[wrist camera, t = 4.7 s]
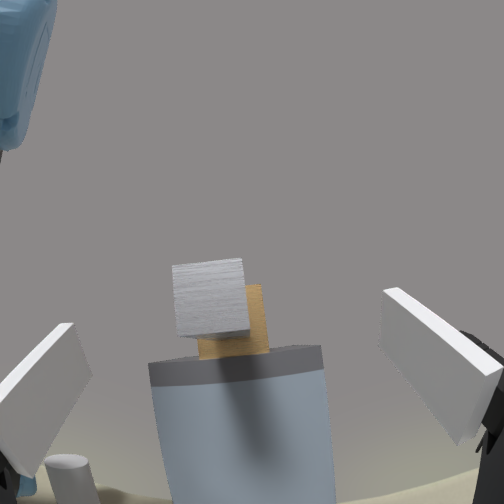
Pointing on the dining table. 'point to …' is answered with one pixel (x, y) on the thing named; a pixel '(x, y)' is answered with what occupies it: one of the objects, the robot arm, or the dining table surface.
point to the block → (219, 309)
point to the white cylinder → (71, 479)
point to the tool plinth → (245, 428)
